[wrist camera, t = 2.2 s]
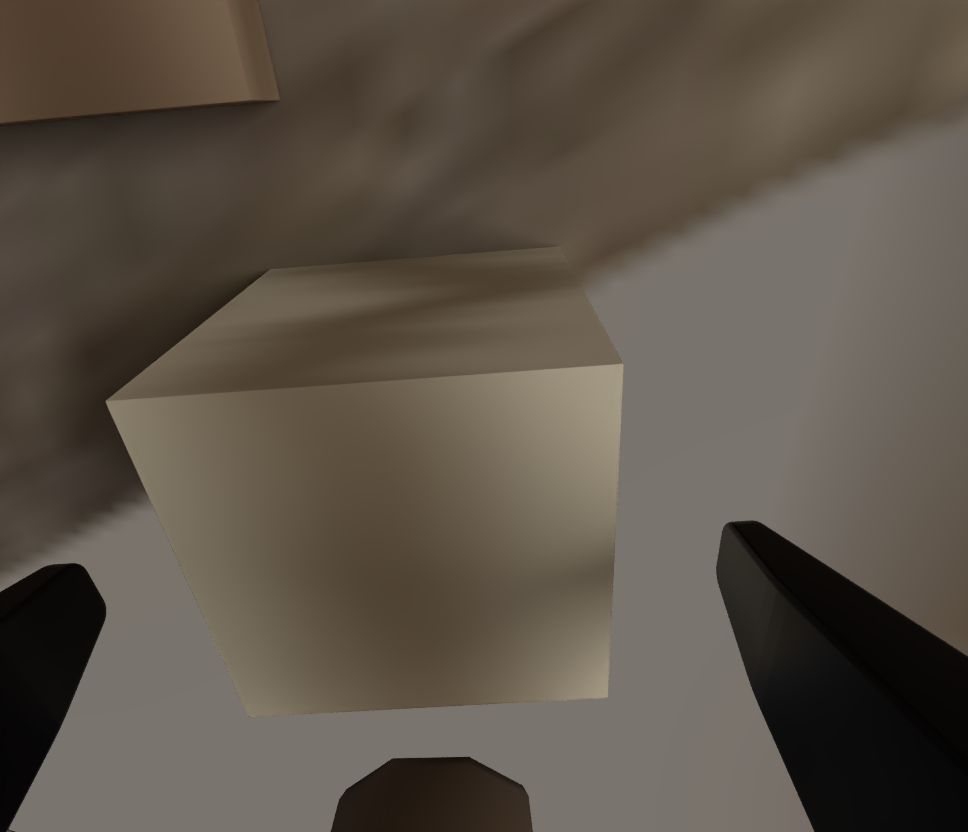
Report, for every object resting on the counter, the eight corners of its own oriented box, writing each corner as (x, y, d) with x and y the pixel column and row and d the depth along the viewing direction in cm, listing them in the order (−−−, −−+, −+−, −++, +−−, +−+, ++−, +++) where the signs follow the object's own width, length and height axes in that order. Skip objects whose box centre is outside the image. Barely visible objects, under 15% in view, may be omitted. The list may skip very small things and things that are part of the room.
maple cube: (558, 245, 12) (623, 363, 6) (561, 482, 15) (607, 697, 9) (271, 268, 12) (104, 400, 7) (331, 497, 15) (248, 717, 9)
